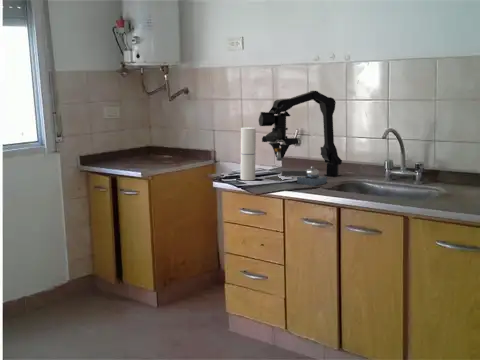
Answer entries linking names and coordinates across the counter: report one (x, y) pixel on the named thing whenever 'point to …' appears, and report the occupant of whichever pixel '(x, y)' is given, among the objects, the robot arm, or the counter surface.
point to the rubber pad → (274, 178)
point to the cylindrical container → (248, 153)
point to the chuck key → (278, 154)
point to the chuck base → (312, 180)
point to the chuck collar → (301, 172)
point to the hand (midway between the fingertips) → (279, 157)
